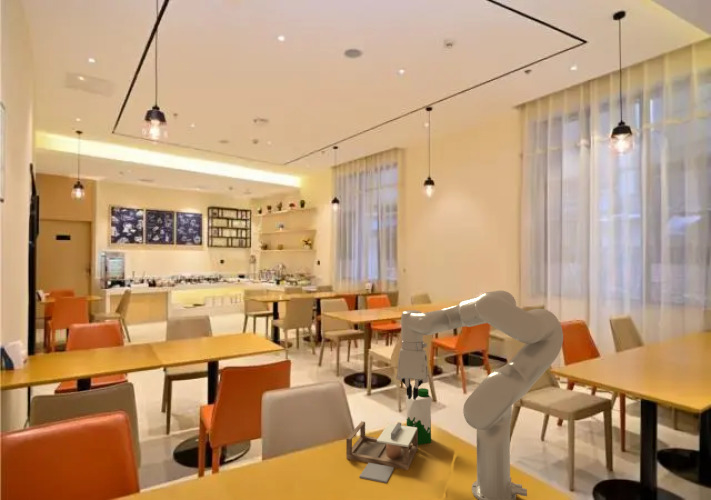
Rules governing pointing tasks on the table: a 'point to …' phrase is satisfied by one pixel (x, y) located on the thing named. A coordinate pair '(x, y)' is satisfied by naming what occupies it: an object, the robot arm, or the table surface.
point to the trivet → (377, 472)
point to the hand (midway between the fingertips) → (412, 397)
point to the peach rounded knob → (393, 451)
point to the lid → (397, 435)
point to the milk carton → (420, 415)
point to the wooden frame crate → (378, 450)
